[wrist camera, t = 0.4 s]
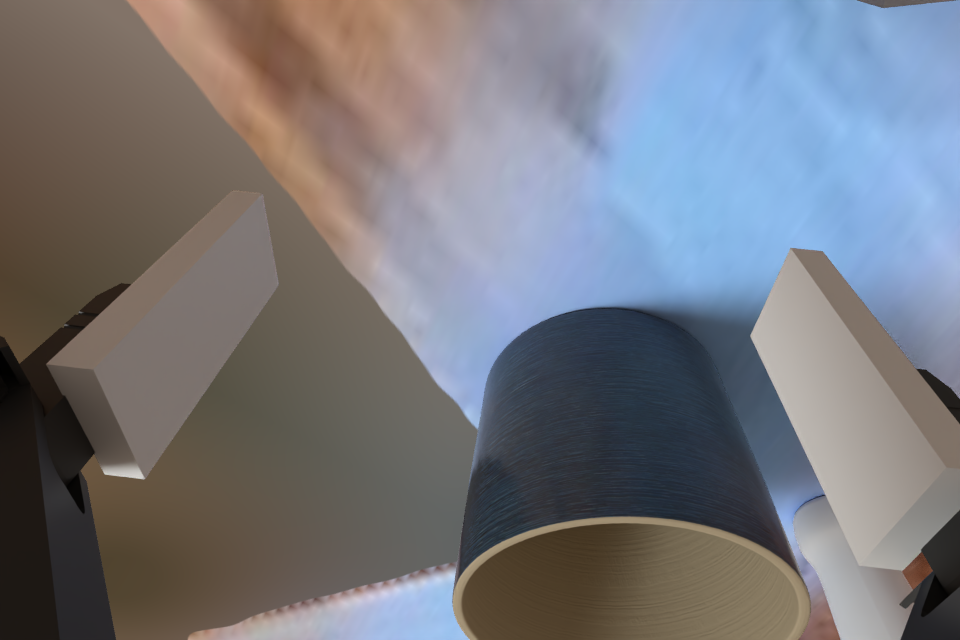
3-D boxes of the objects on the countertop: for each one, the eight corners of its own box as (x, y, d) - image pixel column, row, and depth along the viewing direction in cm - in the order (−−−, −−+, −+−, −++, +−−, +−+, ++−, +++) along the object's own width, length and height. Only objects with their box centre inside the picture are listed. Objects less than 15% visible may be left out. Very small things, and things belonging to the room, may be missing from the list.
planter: (451, 440, 57) (414, 648, 41) (532, 266, 44) (525, 471, 28) (647, 498, 60) (685, 716, 44) (778, 351, 47) (900, 583, 31)
